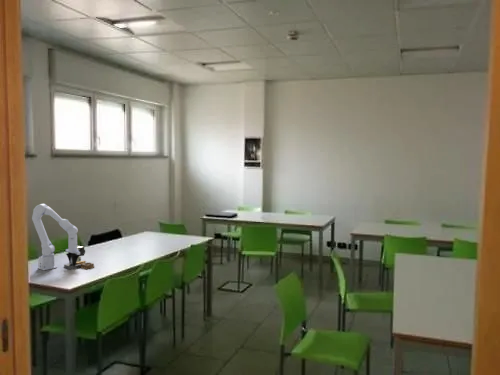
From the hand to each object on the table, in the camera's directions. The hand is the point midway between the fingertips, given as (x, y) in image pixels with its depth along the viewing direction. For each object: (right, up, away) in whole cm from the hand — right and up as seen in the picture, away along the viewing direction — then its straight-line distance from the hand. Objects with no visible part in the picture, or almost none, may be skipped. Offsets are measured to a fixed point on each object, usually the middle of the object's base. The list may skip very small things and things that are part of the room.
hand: (72, 263), depth 293 cm
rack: (+10, -3, +1) cm, 10 cm away
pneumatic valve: (-4, -2, +18) cm, 19 cm away
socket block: (0, -3, 0) cm, 3 cm away
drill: (0, -3, 0) cm, 3 cm away
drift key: (+3, -2, +5) cm, 6 cm away
